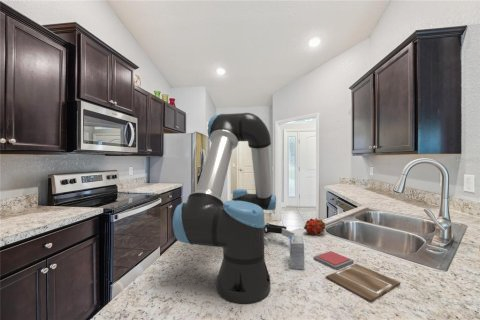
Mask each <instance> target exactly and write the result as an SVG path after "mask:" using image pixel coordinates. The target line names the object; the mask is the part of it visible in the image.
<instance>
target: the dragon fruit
mask: <svg viewBox="0 0 480 320" xmlns="http://www.w3.org/2000/svg"><path fill="white" fill-rule="evenodd" d="M303 230H305V233H306V234H308V235H315V236H316V237H317V236H318V235H321V233H324V232H326V223H325V221H323V219H318V218H317V217H315V218H310V219H309V220H306V221H305V224H304V226H303Z"/></svg>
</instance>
